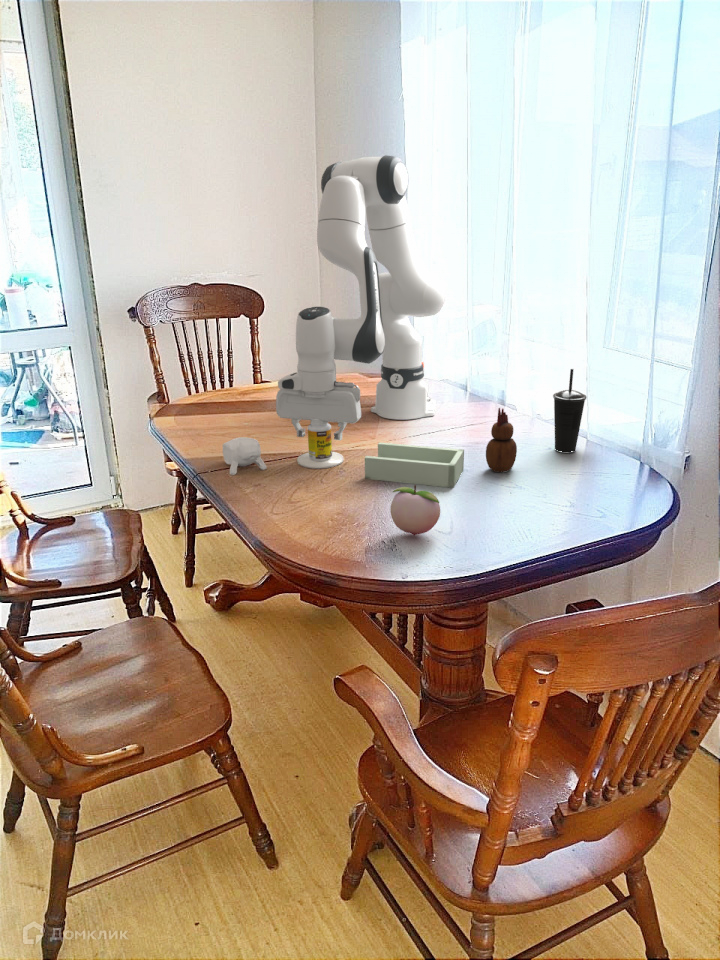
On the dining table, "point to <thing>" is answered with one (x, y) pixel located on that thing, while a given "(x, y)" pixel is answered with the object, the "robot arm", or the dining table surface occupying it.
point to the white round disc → (308, 463)
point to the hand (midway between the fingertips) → (319, 438)
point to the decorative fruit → (414, 510)
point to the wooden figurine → (501, 445)
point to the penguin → (242, 453)
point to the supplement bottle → (319, 440)
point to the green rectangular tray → (415, 464)
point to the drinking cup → (567, 417)
